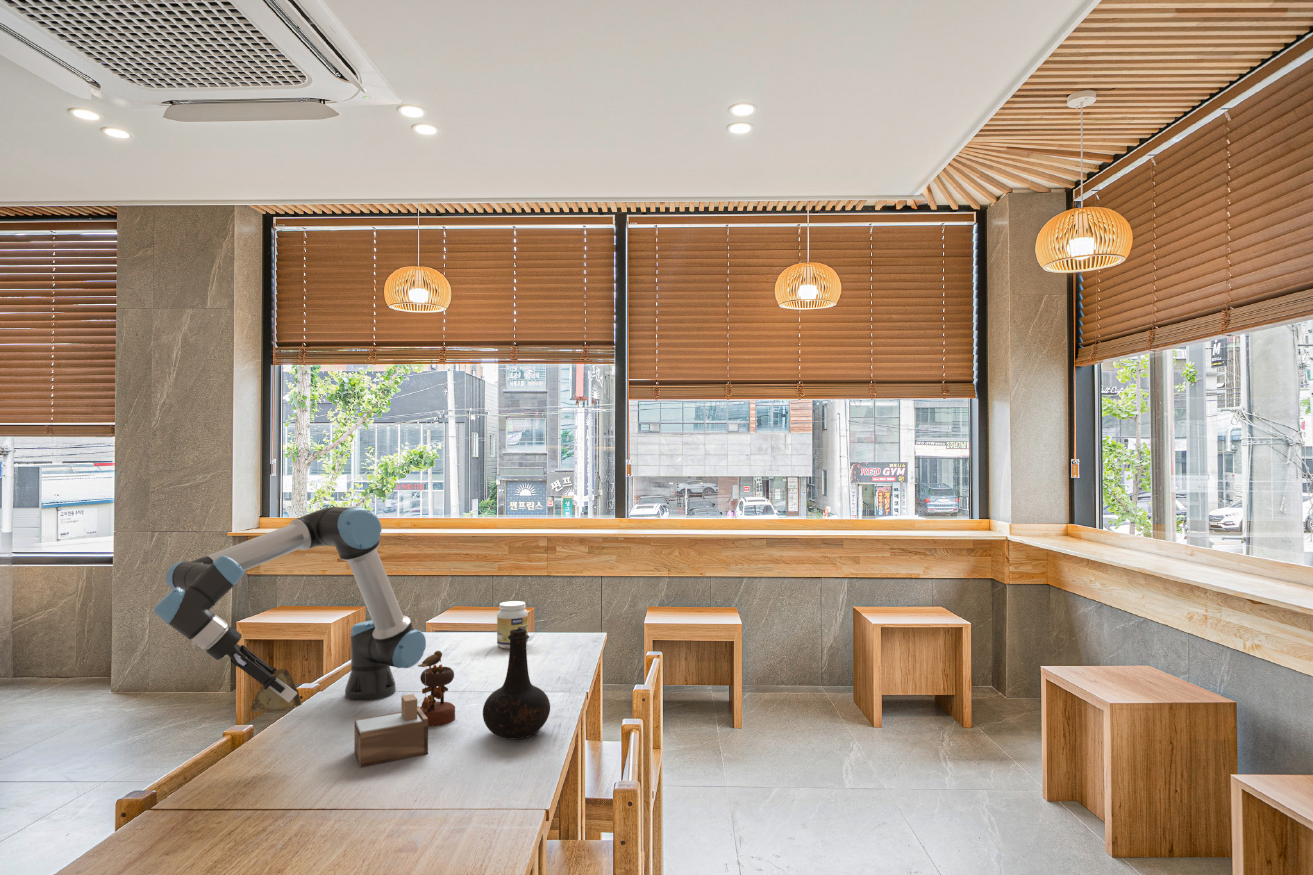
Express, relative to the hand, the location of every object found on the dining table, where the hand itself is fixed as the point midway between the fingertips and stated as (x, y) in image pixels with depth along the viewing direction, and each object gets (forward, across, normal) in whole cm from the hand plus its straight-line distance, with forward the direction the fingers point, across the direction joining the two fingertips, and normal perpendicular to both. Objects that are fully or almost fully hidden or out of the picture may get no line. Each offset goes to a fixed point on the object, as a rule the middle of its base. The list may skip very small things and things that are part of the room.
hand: (292, 694), depth 186 cm
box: (+26, +12, +5) cm, 29 cm away
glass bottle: (+49, +16, +27) cm, 58 cm away
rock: (0, 0, -5) cm, 5 cm away
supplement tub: (+71, -77, +49) cm, 115 cm away
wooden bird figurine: (+38, -7, +16) cm, 42 cm away
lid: (+21, +12, +10) cm, 26 cm away
